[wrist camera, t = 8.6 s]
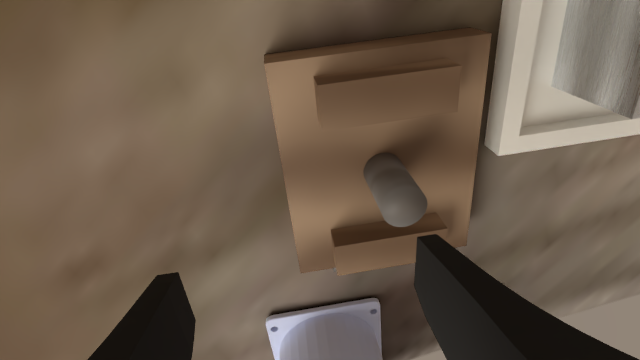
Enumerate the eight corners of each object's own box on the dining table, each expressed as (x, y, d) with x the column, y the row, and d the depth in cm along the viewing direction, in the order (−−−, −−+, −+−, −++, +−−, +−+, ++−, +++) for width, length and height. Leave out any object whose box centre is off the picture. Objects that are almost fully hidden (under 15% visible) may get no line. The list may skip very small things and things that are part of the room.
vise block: (450, 239, 25) (495, 303, 20) (300, 264, 24) (308, 336, 19) (470, 27, 18) (543, 47, 13) (264, 54, 17) (263, 86, 13)
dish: (663, 117, 22) (688, 126, 21) (484, 144, 21) (498, 156, 20) (751, -117, 17) (792, -125, 15) (514, -90, 16) (536, -95, 15)
